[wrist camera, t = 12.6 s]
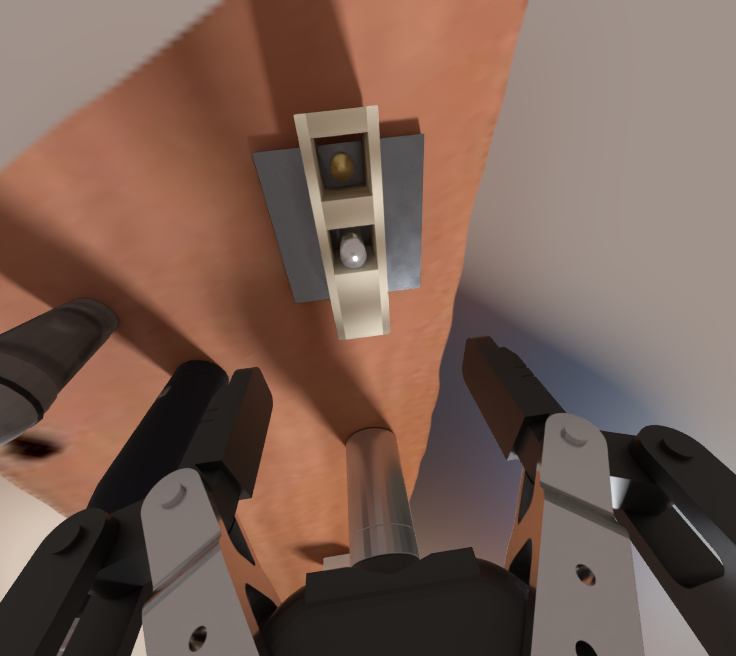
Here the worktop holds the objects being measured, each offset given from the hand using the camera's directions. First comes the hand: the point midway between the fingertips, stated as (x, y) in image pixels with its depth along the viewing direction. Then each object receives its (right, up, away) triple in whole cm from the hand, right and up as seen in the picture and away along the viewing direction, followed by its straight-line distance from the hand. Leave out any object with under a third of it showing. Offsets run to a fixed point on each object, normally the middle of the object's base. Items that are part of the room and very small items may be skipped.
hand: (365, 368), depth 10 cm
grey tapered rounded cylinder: (-30, +3, +19) cm, 36 cm away
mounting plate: (-2, +11, +16) cm, 20 cm away
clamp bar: (-2, +11, +15) cm, 19 cm away
